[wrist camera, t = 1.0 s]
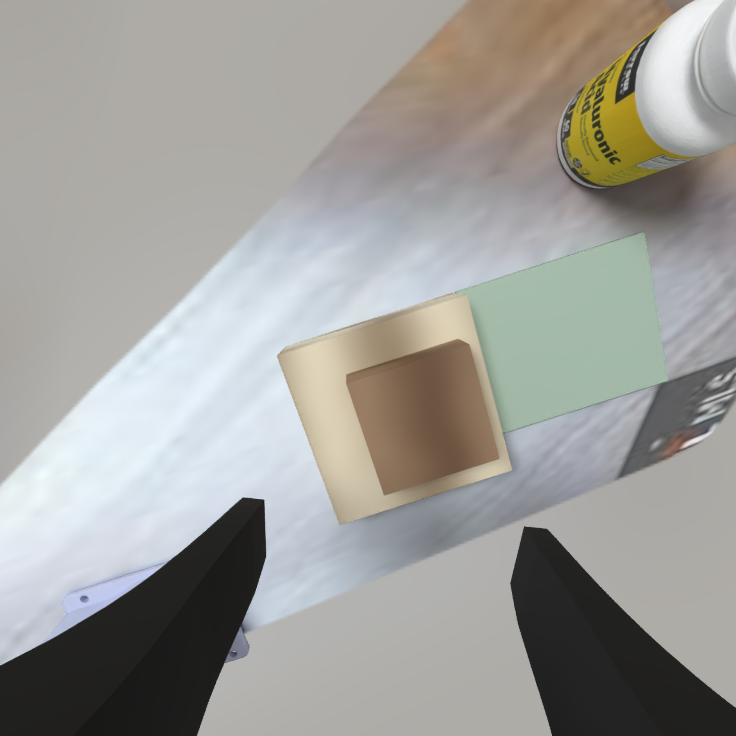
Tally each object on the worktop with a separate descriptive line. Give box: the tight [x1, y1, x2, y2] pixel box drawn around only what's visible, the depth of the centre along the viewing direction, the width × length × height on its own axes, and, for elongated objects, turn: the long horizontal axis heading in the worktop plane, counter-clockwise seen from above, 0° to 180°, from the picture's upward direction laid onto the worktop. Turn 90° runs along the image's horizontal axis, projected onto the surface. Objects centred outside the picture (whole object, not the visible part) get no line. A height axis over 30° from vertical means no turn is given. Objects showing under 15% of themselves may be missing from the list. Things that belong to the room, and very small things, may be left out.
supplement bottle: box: [557, 0, 736, 188], centre depth 17 cm, size 5×5×10 cm
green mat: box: [455, 232, 668, 433], centre depth 24 cm, size 11×9×1 cm
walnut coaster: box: [346, 339, 500, 496], centre depth 21 cm, size 6×6×2 cm
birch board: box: [277, 293, 512, 525], centre depth 23 cm, size 10×10×3 cm
